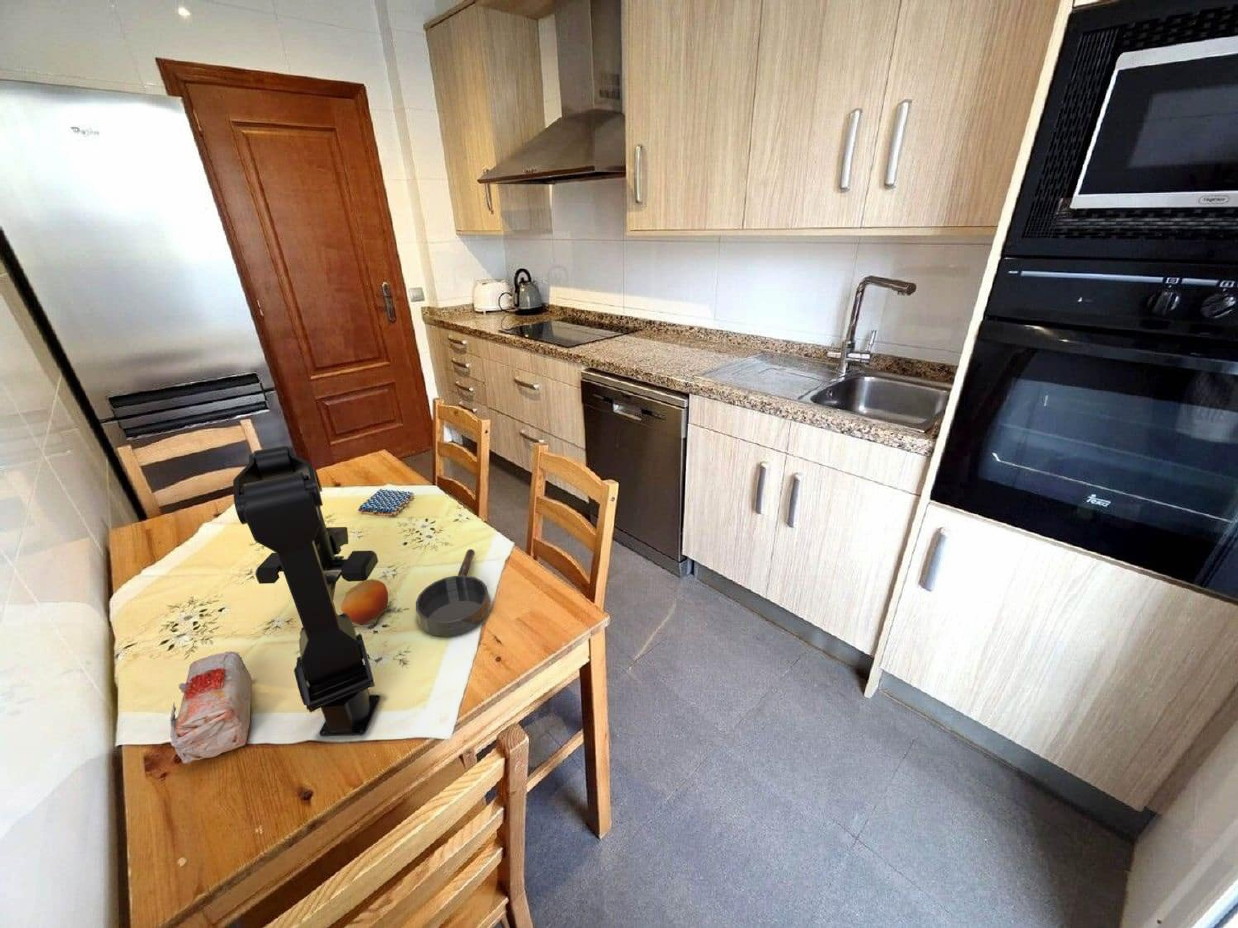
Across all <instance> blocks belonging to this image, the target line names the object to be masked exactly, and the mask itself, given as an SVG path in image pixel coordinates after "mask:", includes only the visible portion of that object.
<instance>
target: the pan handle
mask: <svg viewBox="0 0 1238 928" xmlns="http://www.w3.org/2000/svg"><path fill="white" fill-rule="evenodd" d="M475 554H476V552H475V550H474V549H472V548H470V549H467V551H466V552H465V555H464V558H463V560H462V563H461V564H460V568H459V571H458V573H457V576H464V575H466V576H469V573H470V569H471V566H472V563H473V561H474V558H475Z"/></svg>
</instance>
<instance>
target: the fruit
mask: <svg viewBox="0 0 1238 928" xmlns="http://www.w3.org/2000/svg"><path fill="white" fill-rule="evenodd" d="M388 593H389V592H388V589H387V586H386V585H385V583H384V582H382V581H381V580H380V579H374V578H370V579H369V578H368V579H366V580H364V581H359V582H357V584H356V585H354V586H352V587H350V588H349V589H348V590H347V591H346V592H345V594H344V597H343V600H342V603H341V605H340V606H341V608H340V610H341V612H342V614H344V613H345V614H347V615H348V616H349V618H350V621H351V622H352V623H353V624H360V625H365V624H371V623H375V624H377V620H378V618H379V617H380V616H381V614H382V613H383V612H385V611H388V610H390V611H392V608H390V607H388V605H389V594H388Z"/></svg>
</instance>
